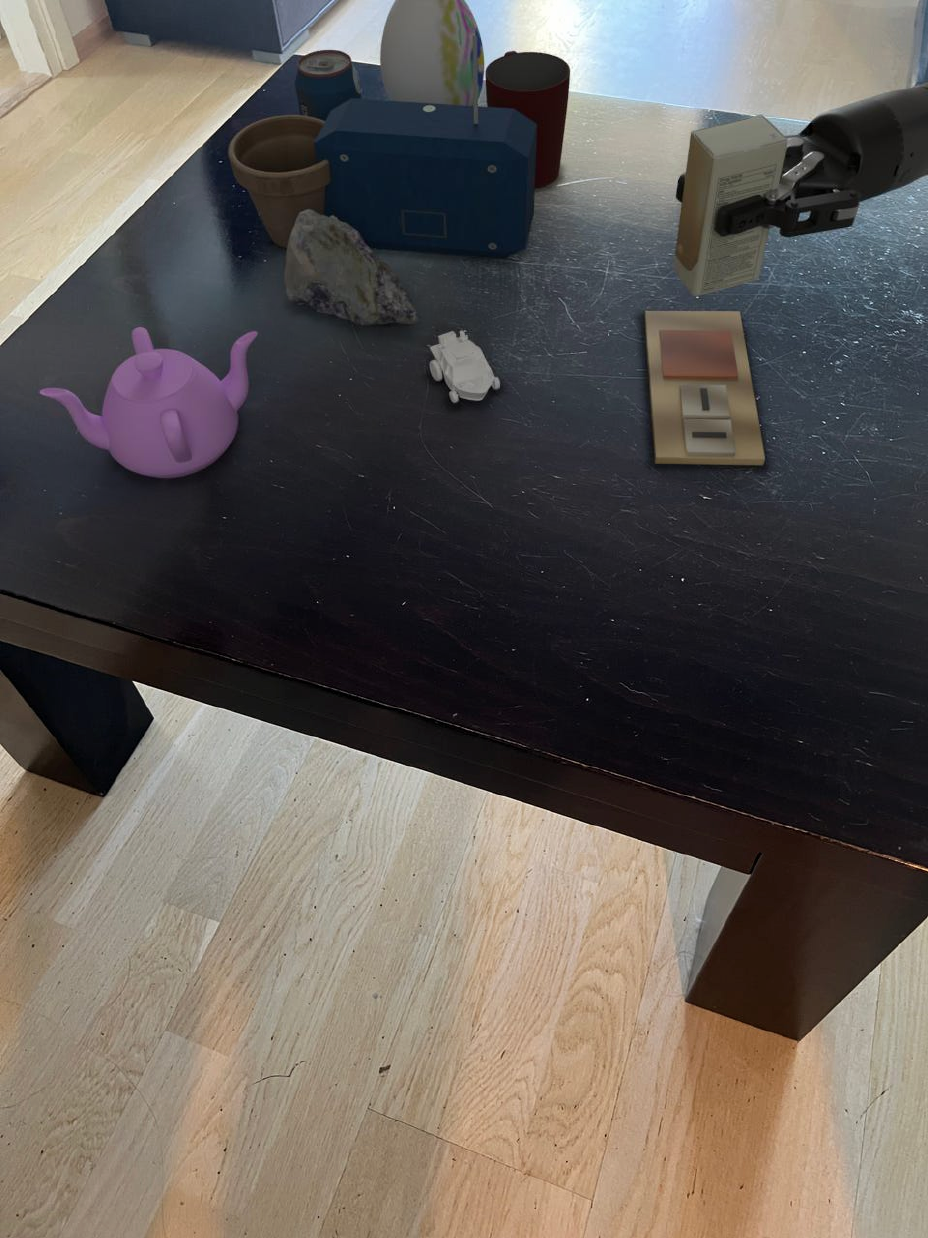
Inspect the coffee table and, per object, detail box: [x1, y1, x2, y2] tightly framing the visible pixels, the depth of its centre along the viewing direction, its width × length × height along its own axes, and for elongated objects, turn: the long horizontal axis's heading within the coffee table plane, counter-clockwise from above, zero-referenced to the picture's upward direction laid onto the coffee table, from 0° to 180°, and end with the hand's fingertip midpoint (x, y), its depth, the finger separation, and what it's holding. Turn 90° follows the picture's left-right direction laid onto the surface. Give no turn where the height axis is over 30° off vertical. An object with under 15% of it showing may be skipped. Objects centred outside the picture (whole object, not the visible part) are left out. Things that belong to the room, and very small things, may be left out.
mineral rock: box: [283, 209, 419, 327], centre depth 92 cm, size 13×11×10 cm
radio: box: [314, 36, 537, 260], centre depth 95 cm, size 21×9×20 cm, turn 80°
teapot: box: [39, 326, 258, 479], centre depth 83 cm, size 12×14×9 cm
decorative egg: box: [379, 0, 485, 106], centre depth 113 cm, size 12×12×15 cm
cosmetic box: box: [672, 114, 788, 297], centre depth 78 cm, size 6×4×12 cm
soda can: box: [294, 49, 363, 121], centre depth 107 cm, size 7×7×12 cm
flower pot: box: [227, 114, 331, 249], centre depth 101 cm, size 12×11×10 cm
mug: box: [484, 50, 571, 190], centre depth 107 cm, size 12×9×11 cm
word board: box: [643, 310, 766, 466], centre depth 87 cm, size 20×9×1 cm, turn 176°
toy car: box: [429, 329, 501, 404], centre depth 87 cm, size 5×8×4 cm, turn 26°
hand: (699, 206), depth 76 cm, fingers closed on cosmetic box, 4 cm apart
